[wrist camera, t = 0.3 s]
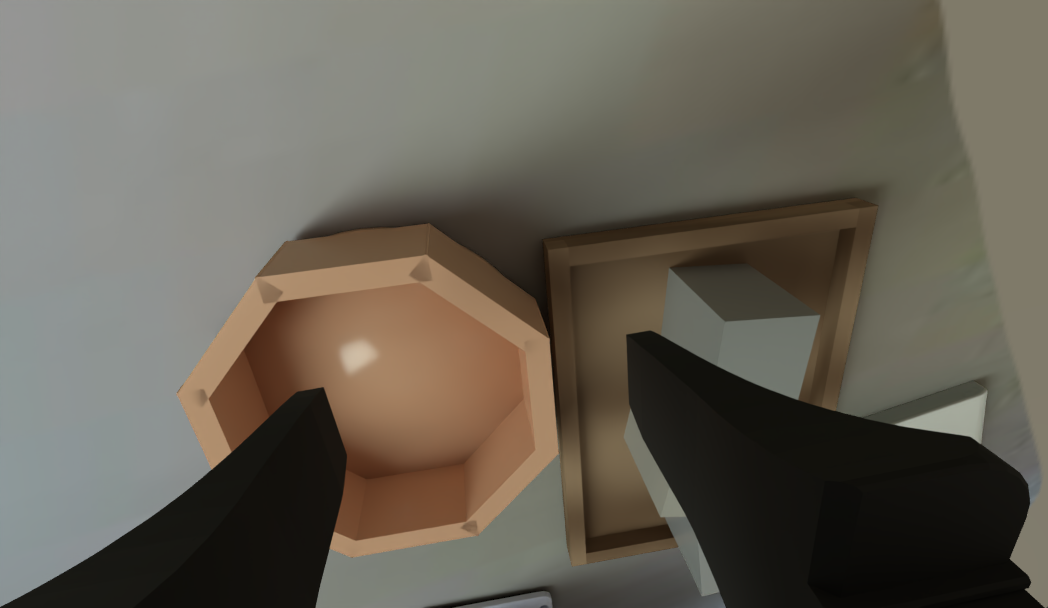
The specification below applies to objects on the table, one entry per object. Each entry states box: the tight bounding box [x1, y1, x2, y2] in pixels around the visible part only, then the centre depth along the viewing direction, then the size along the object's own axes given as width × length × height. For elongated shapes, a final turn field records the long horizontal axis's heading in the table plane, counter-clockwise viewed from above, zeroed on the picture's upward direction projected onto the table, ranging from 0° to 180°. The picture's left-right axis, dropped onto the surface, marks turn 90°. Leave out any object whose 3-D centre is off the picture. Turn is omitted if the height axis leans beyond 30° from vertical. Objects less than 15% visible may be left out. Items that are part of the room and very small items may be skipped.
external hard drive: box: [864, 381, 988, 444], centre depth 31 cm, size 2×8×12 cm
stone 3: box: [661, 263, 820, 400], centre depth 21 cm, size 4×4×5 cm
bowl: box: [177, 223, 559, 558], centre depth 21 cm, size 13×13×4 cm
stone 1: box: [624, 409, 686, 517], centre depth 23 cm, size 4×4×5 cm
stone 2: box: [665, 517, 719, 597], centre depth 26 cm, size 4×4×5 cm
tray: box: [542, 198, 878, 566], centre depth 25 cm, size 18×14×1 cm
